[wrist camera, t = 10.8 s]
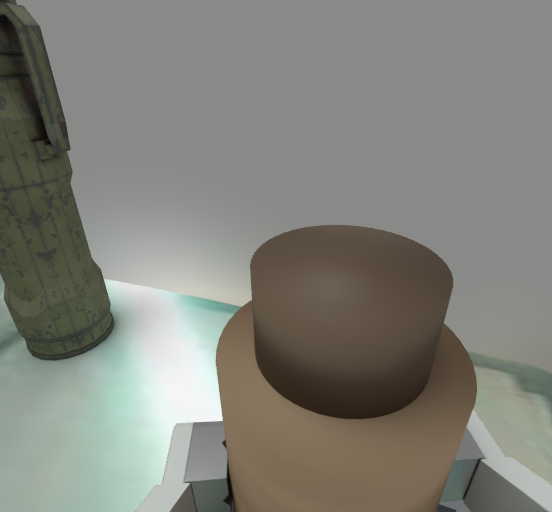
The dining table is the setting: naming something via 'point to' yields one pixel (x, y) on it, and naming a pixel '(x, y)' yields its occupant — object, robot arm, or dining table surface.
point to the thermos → (42, 205)
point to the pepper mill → (343, 376)
